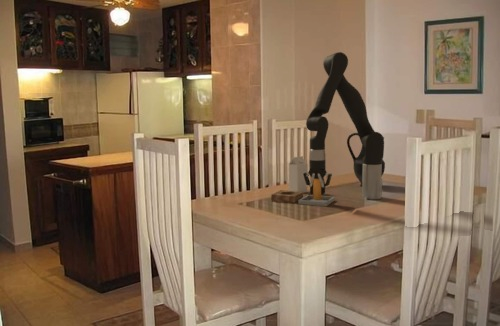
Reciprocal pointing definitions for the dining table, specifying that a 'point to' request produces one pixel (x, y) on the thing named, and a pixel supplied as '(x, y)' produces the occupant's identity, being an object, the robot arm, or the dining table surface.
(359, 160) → the pitcher
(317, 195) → the plug
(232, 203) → the dining table surface
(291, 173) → the milk carton
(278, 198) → the socket block
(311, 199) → the tray
